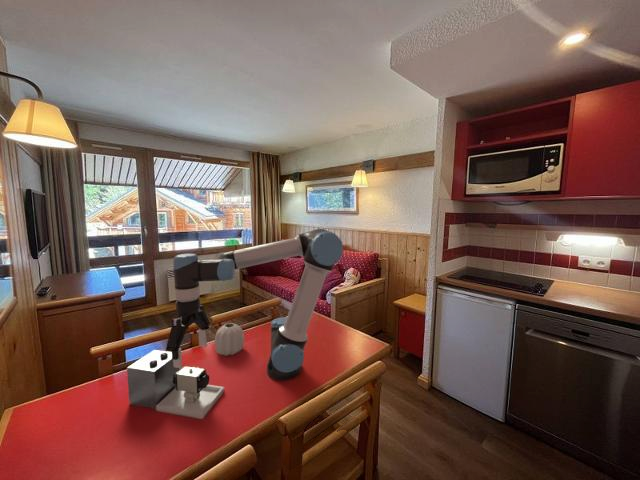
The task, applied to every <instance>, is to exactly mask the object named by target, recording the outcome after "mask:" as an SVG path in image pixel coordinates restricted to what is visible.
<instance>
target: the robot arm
mask: <svg viewBox="0 0 640 480" xmlns="http://www.w3.org/2000/svg"><path fill="white" fill-rule="evenodd" d="M343 253H344V245H343V242H342V241H341V238H340V237H339V236H338V235H337V234H336V233H335V232H332V231H329V230H326V229H324V228H318V229H317V228H316V229H314V230H311V231H307V232H303V233H299V234H296V236H295V237H292V238H286V239H282V240H277V241H273V242H269V243H264V244H259V245H253V246H249V247H246V248H240V249H237V250H231V251H221V252H218V253H217V254H216V255H215V256H214V257H213V258H212V259H199V258H198V255H197V254H196V253H181V254H177V255H175V256H174V258H173V269H172V270H173V279H174V289H175V291H174V292H175V300H176V301H175V307H176V308H175V311H176V312H177V313H178V318H172V319H171V326H170V327H171V328H170V332H169V335H168V339H167V343H166V347H165V351H167V352H172V359H173V365H174V367H176V368H180V369H182V368H183V357H182V356H183V355H182V348H181V345H182V342H183V339H184V337H185V334H186V332H187V330H188V329H189V327H190V326H191V325H192V324H195V325H196V326H197V327H198V328H199V329H198V332H197V333H198V345H199V346H198V347H204V348H207V346H208V342H207V341H208V340H207V335H208V334H207V330H209V328H210V325H211V322H210V320H209V318H208V316H207V313H206V311H205V307H204V305H201V298H200V295H201V294H200V293H201V292H200V282H217V281H218V282H219V281H220V282H221V281H222V282H224V281H231V280H234V278H235V272H236V270H238V269H242V268H248V267H252V266H256V265H262V264H266V263H270V262H275V261H280V260H284V259H287V258H294V257H298V256H299V257H300V258H301V257H302V258H303V260H302V262H303V263H304V265H305V266H304V269H303V271H302V274H301V278H300V280H299V282H298V286H297V289H296V291H295V294H294V296H293V300H292V303H291V305H290V309H289V310H288V313H287V316H285V317H284V316H283V317H276V318H274V319H273V320H272V321H271V322H270V355H269V359H268V361H267V364H266V374H267V375H268V376H269V377H270V378H271V379H273V380H276V381H289V380H292V379H295V378H297V377H298V376H299V375H301V373H302V368H303V363H304V359H305V353H304V350H305V347H306V345H307V341H308V339H309V336H308V334H307V331H308V330H307V329H308V328H309V324H310V322H311V318H312V316H313V313H314V311H315V308H316V306H317V305H316V304H317V302H318V299H319V297H320V295H321V291H322V288H323V286H324V282H325V280H326V278H327V275H328V274H329V273H331V272H333V270H334V267H335V265H336V263H338V262H339V261H340V260H341V259H342V257H343Z"/></svg>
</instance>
